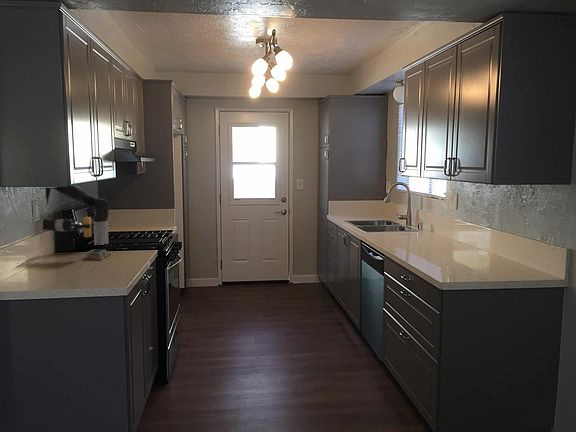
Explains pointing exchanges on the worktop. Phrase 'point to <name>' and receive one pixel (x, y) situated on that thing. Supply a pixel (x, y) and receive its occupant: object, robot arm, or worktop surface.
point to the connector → (87, 230)
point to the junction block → (96, 255)
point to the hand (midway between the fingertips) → (91, 225)
